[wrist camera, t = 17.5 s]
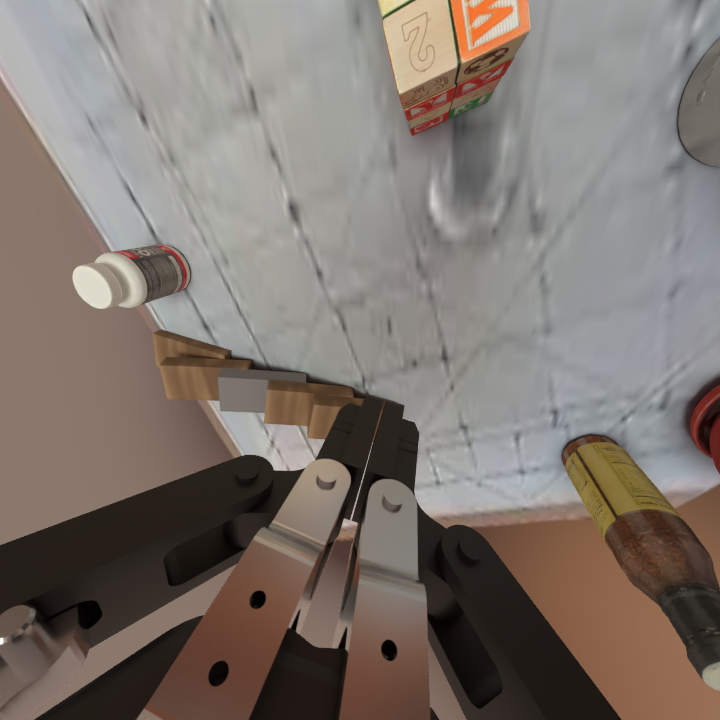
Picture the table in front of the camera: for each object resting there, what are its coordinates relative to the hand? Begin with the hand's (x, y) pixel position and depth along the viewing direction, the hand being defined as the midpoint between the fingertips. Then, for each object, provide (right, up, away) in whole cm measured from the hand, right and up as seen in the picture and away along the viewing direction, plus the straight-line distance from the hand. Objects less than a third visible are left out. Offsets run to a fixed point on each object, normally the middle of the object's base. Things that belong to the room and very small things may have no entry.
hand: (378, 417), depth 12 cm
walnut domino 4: (+3, -6, +27) cm, 28 cm away
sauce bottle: (+26, -8, +24) cm, 37 cm away
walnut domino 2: (-15, -1, +28) cm, 32 cm away
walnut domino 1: (-18, +1, +29) cm, 34 cm away
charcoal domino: (-8, -2, +28) cm, 29 cm away
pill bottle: (-23, +13, +25) cm, 36 cm away
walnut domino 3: (-2, -4, +27) cm, 28 cm away
